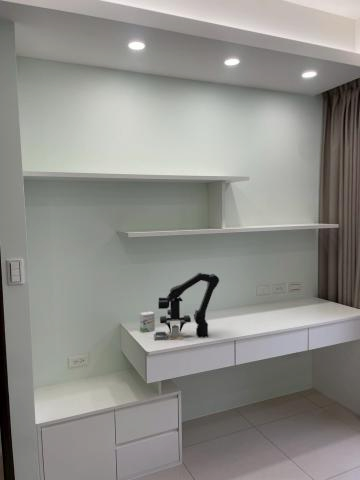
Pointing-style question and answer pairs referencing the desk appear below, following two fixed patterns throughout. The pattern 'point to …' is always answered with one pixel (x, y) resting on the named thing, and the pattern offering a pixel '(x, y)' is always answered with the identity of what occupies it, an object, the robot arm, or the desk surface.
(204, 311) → the robot arm
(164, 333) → the grey square frame
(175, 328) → the cable plug
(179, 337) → the cork pad
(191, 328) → the desk surface
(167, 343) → the desk surface
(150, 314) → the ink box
